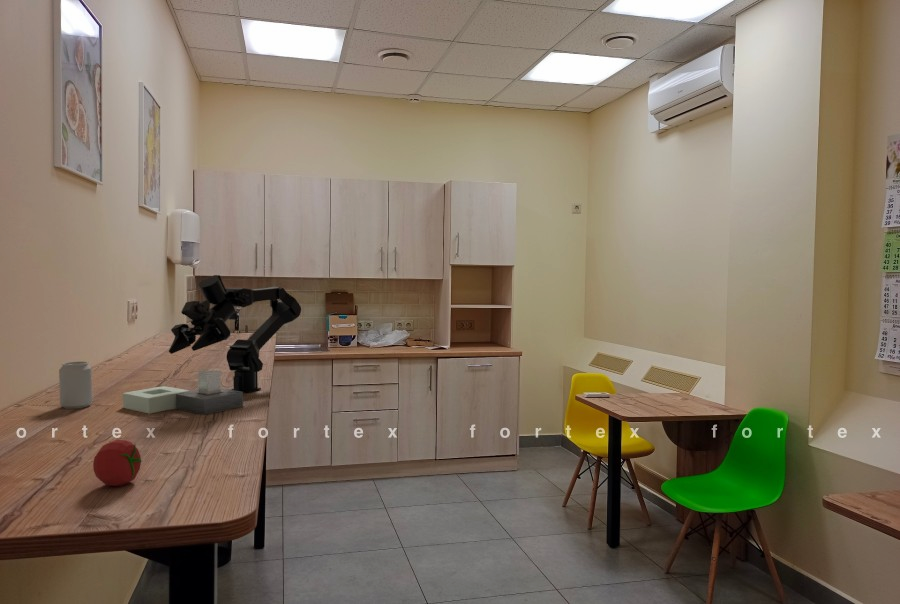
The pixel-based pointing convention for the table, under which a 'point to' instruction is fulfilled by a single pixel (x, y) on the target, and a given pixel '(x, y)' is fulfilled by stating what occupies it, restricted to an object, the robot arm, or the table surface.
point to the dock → (152, 399)
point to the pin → (209, 382)
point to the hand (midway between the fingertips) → (181, 351)
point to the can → (75, 385)
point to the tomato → (117, 463)
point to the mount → (209, 401)
